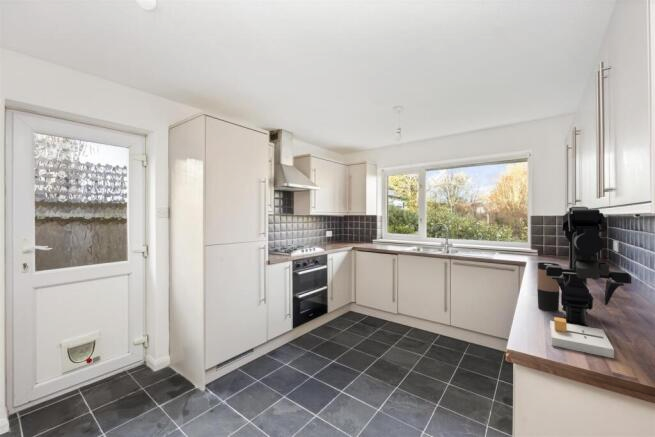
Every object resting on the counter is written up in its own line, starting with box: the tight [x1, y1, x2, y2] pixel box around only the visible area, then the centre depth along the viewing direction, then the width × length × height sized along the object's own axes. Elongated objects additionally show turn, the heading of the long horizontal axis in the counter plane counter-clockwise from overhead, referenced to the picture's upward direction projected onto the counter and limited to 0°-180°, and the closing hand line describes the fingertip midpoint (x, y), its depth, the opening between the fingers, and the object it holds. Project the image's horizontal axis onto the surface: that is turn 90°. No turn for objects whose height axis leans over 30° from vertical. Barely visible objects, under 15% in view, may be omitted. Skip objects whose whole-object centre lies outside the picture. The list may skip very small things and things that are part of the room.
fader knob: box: [553, 316, 568, 332], centre depth 96 cm, size 4×3×3 cm
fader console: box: [549, 320, 615, 359], centre depth 93 cm, size 18×14×3 cm
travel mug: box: [536, 261, 560, 313], centre depth 125 cm, size 8×8×20 cm
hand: (584, 301), depth 86 cm, fingers open, 9 cm apart
